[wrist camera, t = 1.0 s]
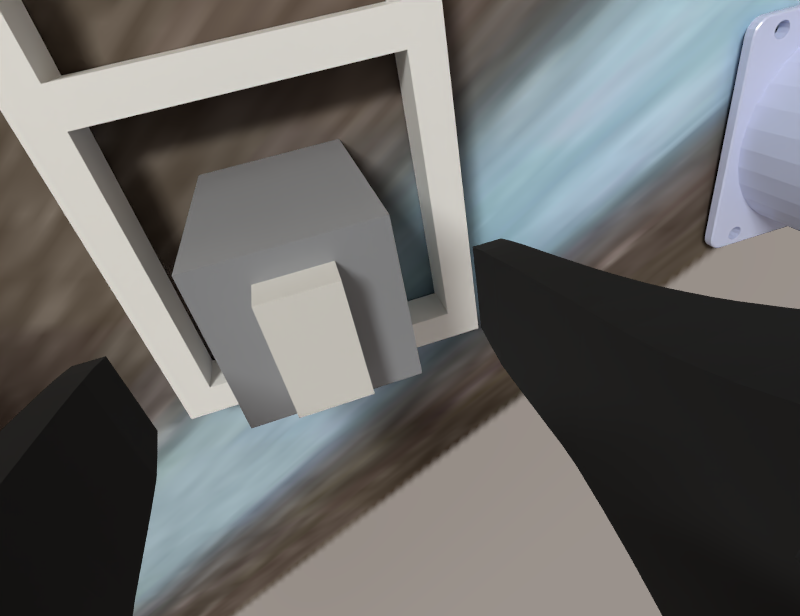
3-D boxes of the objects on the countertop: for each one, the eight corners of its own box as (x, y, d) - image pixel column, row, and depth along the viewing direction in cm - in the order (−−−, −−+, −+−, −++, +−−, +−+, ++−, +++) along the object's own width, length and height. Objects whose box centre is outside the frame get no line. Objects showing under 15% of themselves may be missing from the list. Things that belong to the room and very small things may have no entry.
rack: (334, -700, 7) (350, -827, 6) (463, 307, 18) (478, 328, 17) (-419, -661, 6) (-568, -808, 5) (195, 390, 17) (191, 419, 16)
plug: (338, 138, 14) (400, 231, 8) (368, 259, 16) (433, 395, 11) (199, 175, 13) (165, 298, 8) (249, 294, 16) (251, 456, 10)
